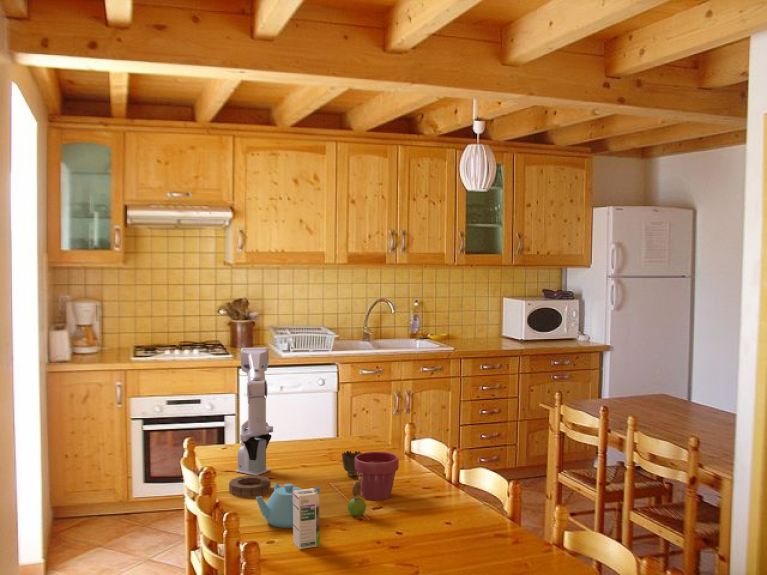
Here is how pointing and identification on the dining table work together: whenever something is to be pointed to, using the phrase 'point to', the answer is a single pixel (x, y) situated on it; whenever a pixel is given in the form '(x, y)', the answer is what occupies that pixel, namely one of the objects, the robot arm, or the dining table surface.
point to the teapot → (280, 505)
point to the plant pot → (377, 473)
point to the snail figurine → (357, 499)
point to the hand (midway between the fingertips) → (257, 458)
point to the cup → (350, 463)
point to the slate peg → (259, 457)
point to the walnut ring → (249, 486)
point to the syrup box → (306, 518)
